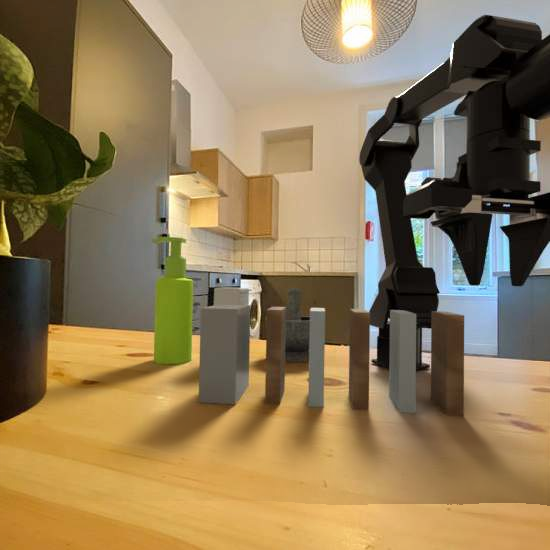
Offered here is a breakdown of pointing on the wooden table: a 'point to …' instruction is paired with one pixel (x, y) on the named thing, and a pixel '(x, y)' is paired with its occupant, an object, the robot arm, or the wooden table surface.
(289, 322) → the mortar and pestle
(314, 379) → the domino
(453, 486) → the wooden table surface
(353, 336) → the domino
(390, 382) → the domino
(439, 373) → the domino
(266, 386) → the domino
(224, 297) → the skincare box
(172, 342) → the soap dispenser
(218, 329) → the bookend
